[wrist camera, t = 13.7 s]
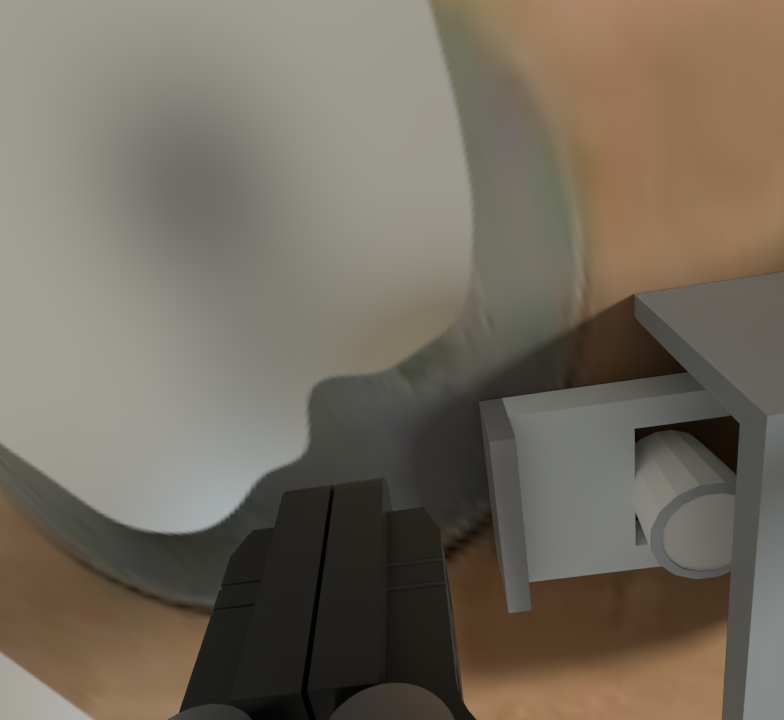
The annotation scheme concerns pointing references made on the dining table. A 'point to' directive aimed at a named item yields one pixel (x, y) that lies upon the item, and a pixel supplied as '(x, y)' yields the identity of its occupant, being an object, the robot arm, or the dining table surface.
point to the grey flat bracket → (575, 476)
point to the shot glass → (684, 504)
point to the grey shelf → (741, 461)
